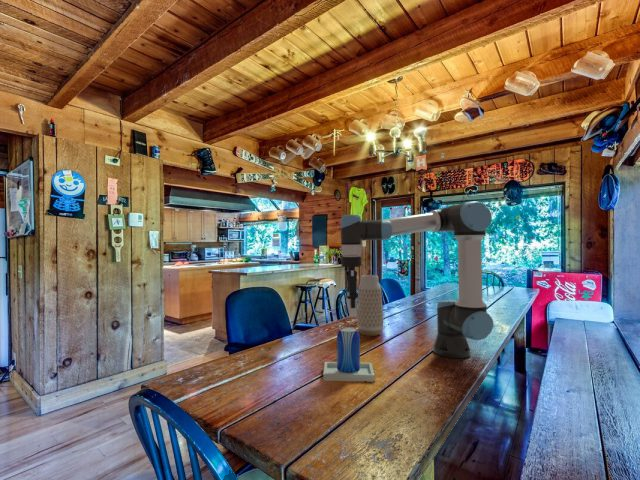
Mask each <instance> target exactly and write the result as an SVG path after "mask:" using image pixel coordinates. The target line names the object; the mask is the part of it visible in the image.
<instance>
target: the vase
mask: <svg viewBox="0 0 640 480" xmlns="http://www.w3.org/2000/svg"><path fill="white" fill-rule="evenodd" d="M360 277H361V279H360V284H359V285H358V291H357V317H356V326H357V331H358V333H359V334H361V335H363V336H367V337H375V336H378V335H380V334H381V332H382V331H383V326H384V315H383V314H384V313H383V296H382V295H383V294H382V286H381V285H380V282H379V276H378V275H375V274H364V275H363V274H362V275H361V276H360Z"/></svg>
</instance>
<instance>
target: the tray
mask: <svg viewBox="0 0 640 480" xmlns="http://www.w3.org/2000/svg"><path fill="white" fill-rule="evenodd" d="M322 374H323V376H322V377H323V379H322V380H323V381H324V382H327V381H328V382H364V381H367V383H368V382H371V383H373V382H375V377H376V376H375V371H374V368H373V364H372V362H362V361H360V370H359V371H358V373H357V374H346V373H339V371H338V370H337V361H325V362H324V366H323V373H322Z"/></svg>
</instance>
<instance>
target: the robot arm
mask: <svg viewBox="0 0 640 480" xmlns="http://www.w3.org/2000/svg"><path fill="white" fill-rule="evenodd" d="M492 217H493V215H492V212H491V210H490V208H489V207H488V206H487V205H486V204H485V203H483V202H481V201H466V202H461V203H458V204H456V203H455V204H453V205H448V206H446V207H442V208H438V209H431V211H429V212H428V213H421V214H412V215H407V216H405V215H404V216H400V217H392V218H385V219H384V218H383V219H377V220H376V219H375V220H371V219H366V220H364V219H362V217H361V215H360V214H344V215H342V216H341V218H340V227H339V228H340V242H341V243H340V246H341V247H340V246H339V250H340V252H341V257H340V259H341V260H340V265H341V267H342V268H346V269H347V270H346V271H345V275H346V282H347V287H346V289H347V291H346V292H347V297H346V299H347V310H348V318H357V309H358V291H357V280H358V279H357V277H358V272H357V270H356V268H359V267H361V266H362V257H361V255H362V241H380V240H381V241H386V240H390V239H391V238H392V237H395V236H396V237H397V236H400V235H401V236H402V235H408V234H416V233H424V232H429V231H432V232H434V233H438V232H453V237H454V238H455V239H456V240H457V258H458V260H457V263H458V264H457V265H458V267H457V268H458V271H457V273H458V275H457V276H458V299H457V300H456V299H449V300H448V299H446V300H439V301H438V302H437V307H436V313H437V314H436V315H437V316H436V317H437V318H436V319H437V320H436V321H437V322H436V323H437V327H436V328H437V332H436V333H437V334H436V336H435V337H436V338H435V340H434V342H433V346H432V347H433V348H432V349H433V352H434V353H435V354H436V355H438V356H441V357H444V358H449V359H465V358H468V357H471V348H470V344H469V341H468V340H467V339H470V340H473V341H481V340H485V339H486V338H487V337H488V336H489V335H490V334H491V333H492V331H493V329H494V320H493V317H492V316H491V315H490V314H489V313H488V311H487V310H488V308H487V304H486V303H485V301H484V300H483V269H482V268H483V265H482V264H483V263H482V258H483V257H482V240H483V239H484V238H485V237H486V235H487V234H486V230H488V229H489V226H491V224H492V222H493V221H492V220H493V218H492Z"/></svg>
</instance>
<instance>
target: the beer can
mask: <svg viewBox="0 0 640 480" xmlns="http://www.w3.org/2000/svg"><path fill="white" fill-rule="evenodd" d="M360 337H361V335H360V332H359V330H358V328H356V327H353V326H342V327H340V328H339V331H338V332H337V334H336V362H337V370H338V371H339V373H346V374H357V373H358V371H359V370H360V362H361V355H360V354H361V349H360V348H361V343H360V342H361V339H360Z"/></svg>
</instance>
